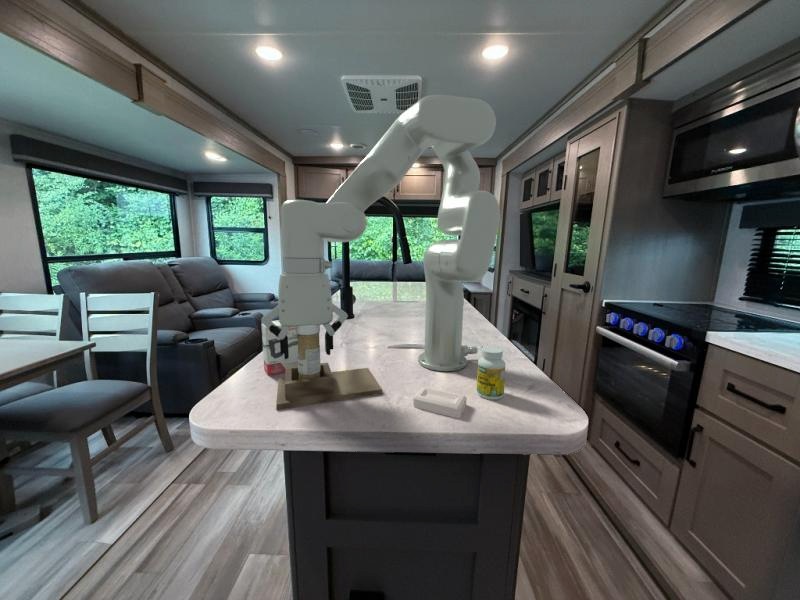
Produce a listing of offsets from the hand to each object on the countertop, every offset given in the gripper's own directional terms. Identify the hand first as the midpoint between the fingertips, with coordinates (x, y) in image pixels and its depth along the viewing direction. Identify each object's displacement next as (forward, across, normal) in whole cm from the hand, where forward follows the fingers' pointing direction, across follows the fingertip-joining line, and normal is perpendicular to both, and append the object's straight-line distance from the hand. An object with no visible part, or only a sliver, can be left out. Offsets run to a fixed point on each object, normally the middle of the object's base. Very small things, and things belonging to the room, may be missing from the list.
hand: (307, 354), depth 61 cm
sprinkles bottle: (+7, 0, 0) cm, 7 cm away
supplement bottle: (+8, -35, +13) cm, 38 cm away
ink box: (+8, +5, -14) cm, 17 cm away
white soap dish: (+8, -23, +14) cm, 28 cm away
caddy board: (+8, -4, 0) cm, 9 cm away
